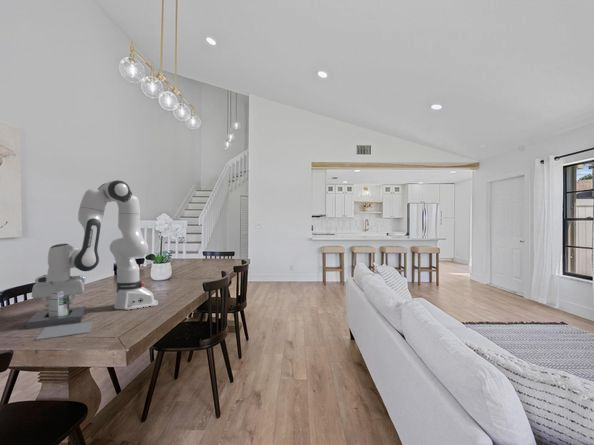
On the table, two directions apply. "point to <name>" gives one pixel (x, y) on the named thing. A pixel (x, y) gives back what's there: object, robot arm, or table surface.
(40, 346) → the table surface
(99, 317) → the table surface
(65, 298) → the syrup box
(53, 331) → the grey mat
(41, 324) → the holder block
